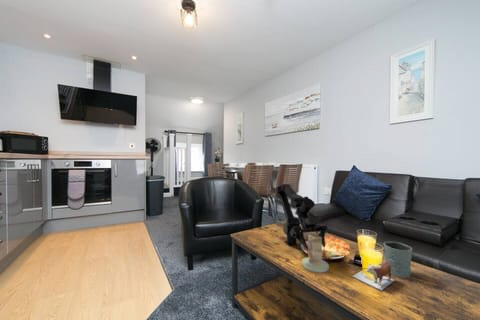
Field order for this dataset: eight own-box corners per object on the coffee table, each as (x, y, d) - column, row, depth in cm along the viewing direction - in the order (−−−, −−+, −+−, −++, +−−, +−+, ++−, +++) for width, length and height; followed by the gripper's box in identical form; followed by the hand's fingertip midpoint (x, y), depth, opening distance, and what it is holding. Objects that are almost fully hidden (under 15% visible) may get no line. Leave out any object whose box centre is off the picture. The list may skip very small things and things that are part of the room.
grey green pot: (388, 276, 85) (388, 248, 85) (380, 264, 94) (380, 239, 95) (417, 280, 81) (417, 252, 82) (406, 268, 91) (406, 242, 91)
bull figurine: (363, 283, 80) (363, 263, 80) (384, 276, 85) (384, 257, 85) (374, 290, 76) (374, 269, 76) (395, 281, 81) (395, 261, 81)
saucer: (297, 261, 98) (297, 258, 98) (317, 258, 101) (317, 255, 101) (311, 274, 86) (311, 271, 86) (334, 270, 89) (334, 268, 89)
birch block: (308, 261, 95) (308, 234, 95) (316, 260, 96) (316, 234, 96) (313, 266, 91) (313, 238, 91) (321, 265, 92) (321, 237, 92)
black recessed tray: (343, 263, 96) (343, 254, 96) (347, 258, 102) (347, 249, 102) (373, 273, 88) (373, 263, 88) (375, 266, 93) (375, 257, 94)
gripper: (292, 210, 96) (303, 242, 85) (326, 208, 100) (341, 238, 89) (286, 221, 104) (295, 251, 93) (317, 219, 107) (330, 248, 96)
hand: (315, 247), depth 93 cm, fingers open, 9 cm apart
